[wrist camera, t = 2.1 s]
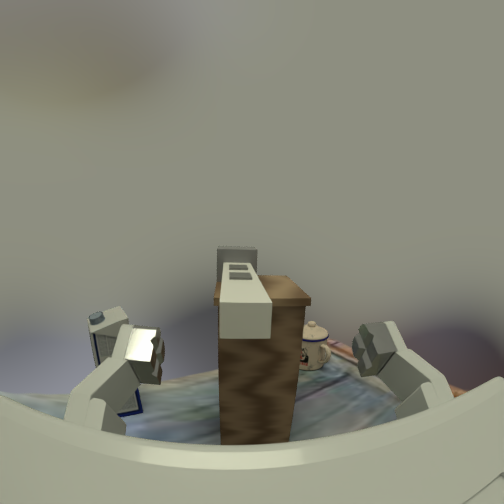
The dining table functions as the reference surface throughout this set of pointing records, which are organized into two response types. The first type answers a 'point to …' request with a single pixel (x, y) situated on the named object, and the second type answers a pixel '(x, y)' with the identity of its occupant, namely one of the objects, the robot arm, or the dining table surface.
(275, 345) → the stand
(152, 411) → the dining table surface
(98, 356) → the milk carton
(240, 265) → the power strip
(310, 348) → the teacup with lid
